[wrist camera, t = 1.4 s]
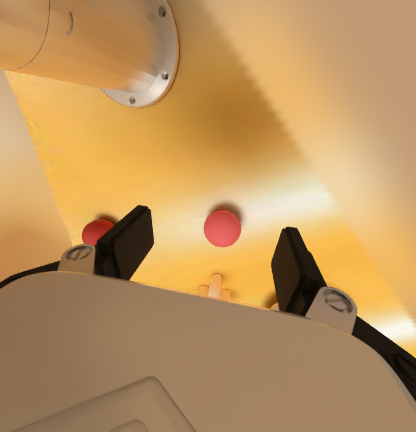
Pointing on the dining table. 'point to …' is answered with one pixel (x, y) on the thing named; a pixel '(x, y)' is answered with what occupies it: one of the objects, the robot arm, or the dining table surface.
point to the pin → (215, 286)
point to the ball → (222, 228)
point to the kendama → (95, 231)
